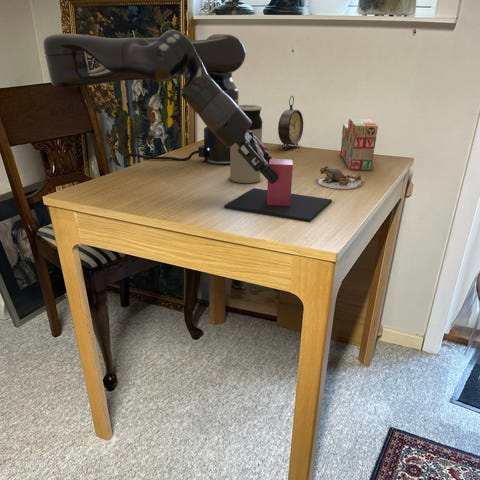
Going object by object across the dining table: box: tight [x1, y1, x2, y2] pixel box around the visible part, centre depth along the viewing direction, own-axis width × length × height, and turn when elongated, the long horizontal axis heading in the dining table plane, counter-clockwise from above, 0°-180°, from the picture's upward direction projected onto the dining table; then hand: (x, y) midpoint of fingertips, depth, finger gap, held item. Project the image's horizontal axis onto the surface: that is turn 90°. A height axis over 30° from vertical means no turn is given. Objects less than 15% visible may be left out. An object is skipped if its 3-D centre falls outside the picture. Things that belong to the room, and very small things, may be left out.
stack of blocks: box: [340, 117, 379, 171], centre depth 149 cm, size 21×6×12 cm, turn 178°
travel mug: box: [229, 104, 263, 184], centre depth 127 cm, size 8×8×18 cm
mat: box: [223, 187, 333, 223], centre depth 113 cm, size 20×16×1 cm
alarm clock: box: [277, 95, 304, 151], centre depth 165 cm, size 11×5×16 cm, turn 148°
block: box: [266, 158, 294, 206], centre depth 111 cm, size 5×5×9 cm
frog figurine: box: [317, 165, 363, 190], centre depth 129 cm, size 12×12×4 cm
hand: (276, 175), depth 110 cm, fingers open, 8 cm apart
